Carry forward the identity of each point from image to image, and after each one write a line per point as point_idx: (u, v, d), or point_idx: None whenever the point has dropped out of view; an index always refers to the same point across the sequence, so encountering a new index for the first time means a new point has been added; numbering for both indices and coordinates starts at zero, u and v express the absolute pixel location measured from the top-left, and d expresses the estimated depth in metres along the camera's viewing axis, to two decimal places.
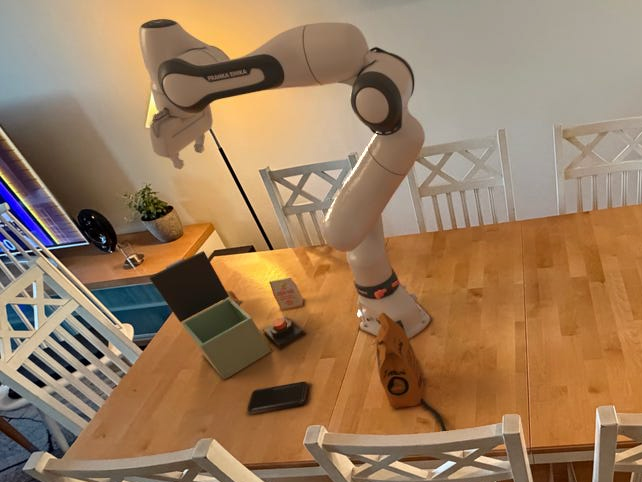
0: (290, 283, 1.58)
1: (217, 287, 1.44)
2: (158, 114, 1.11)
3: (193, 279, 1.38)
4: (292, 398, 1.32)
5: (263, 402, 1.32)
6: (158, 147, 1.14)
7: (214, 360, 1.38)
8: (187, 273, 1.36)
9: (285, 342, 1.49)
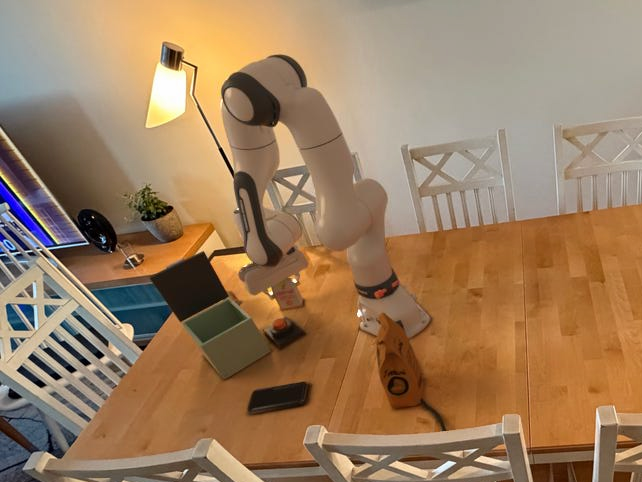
0: (290, 283, 1.58)
1: (217, 287, 1.44)
2: (244, 267, 1.48)
3: (193, 279, 1.38)
4: (292, 398, 1.32)
5: (263, 402, 1.32)
6: (246, 288, 1.52)
7: (214, 360, 1.38)
8: (187, 273, 1.36)
9: (285, 342, 1.49)
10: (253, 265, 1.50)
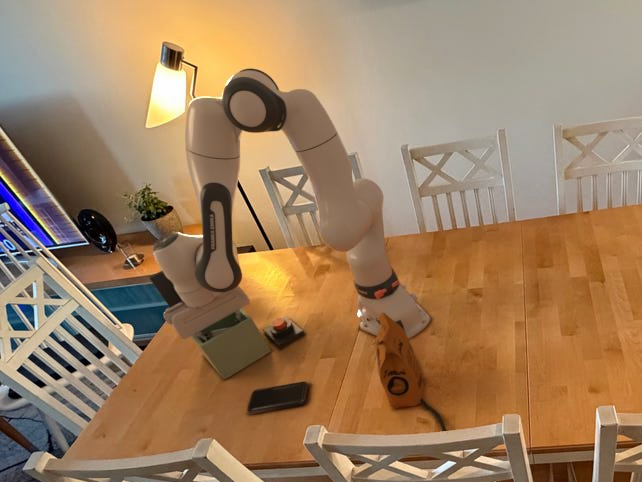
0: None
1: None
2: (170, 308, 1.29)
3: None
4: (292, 398, 1.32)
5: (263, 402, 1.32)
6: None
7: (214, 360, 1.38)
8: None
9: (285, 342, 1.49)
10: (181, 305, 1.31)
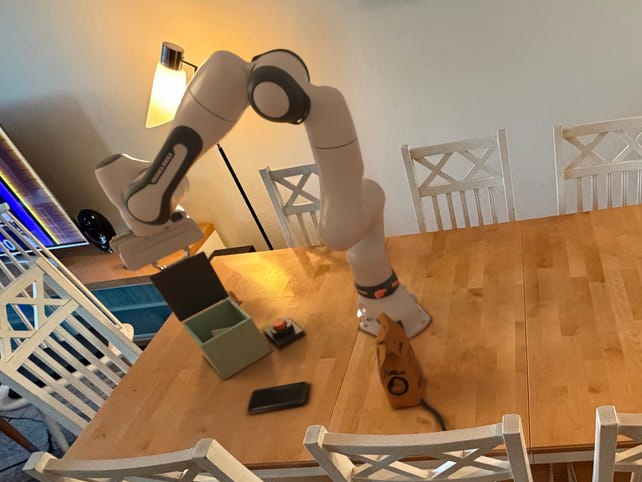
0: None
1: (217, 287, 1.44)
2: (117, 236, 1.24)
3: (193, 279, 1.38)
4: (292, 398, 1.32)
5: (263, 402, 1.32)
6: (124, 262, 1.27)
7: (214, 360, 1.38)
8: (187, 273, 1.36)
9: (285, 342, 1.49)
10: (129, 234, 1.25)
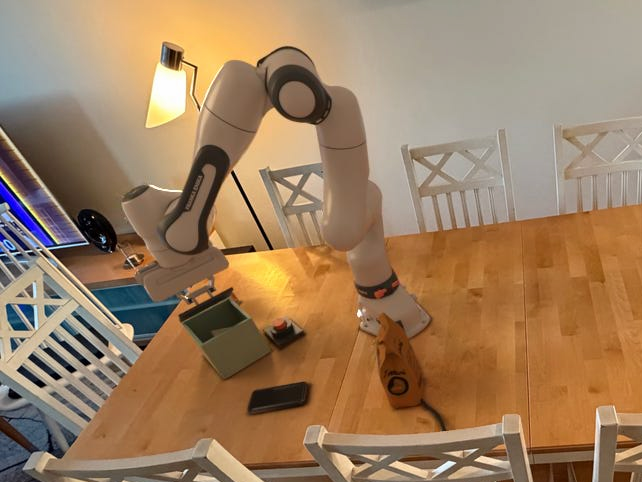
0: None
1: (225, 297, 1.44)
2: (142, 267, 1.20)
3: (212, 303, 1.37)
4: (292, 398, 1.32)
5: (263, 402, 1.32)
6: (148, 293, 1.24)
7: (214, 360, 1.38)
8: (210, 303, 1.35)
9: (285, 342, 1.49)
10: (154, 265, 1.22)
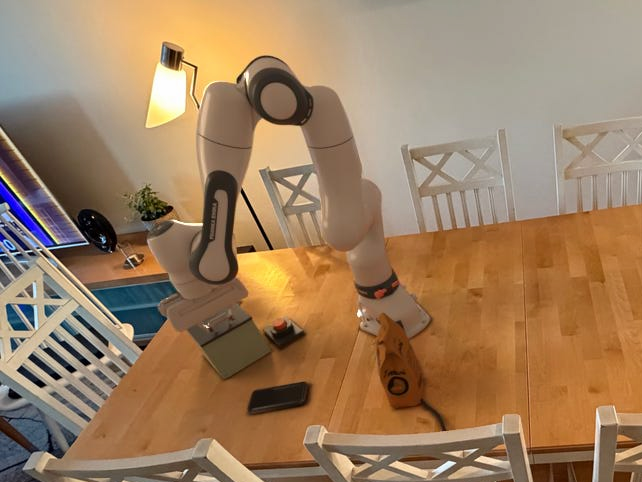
0: None
1: None
2: (165, 299, 1.24)
3: None
4: (292, 398, 1.32)
5: (263, 402, 1.32)
6: (171, 324, 1.27)
7: (214, 360, 1.38)
8: None
9: (285, 342, 1.49)
10: (177, 297, 1.25)
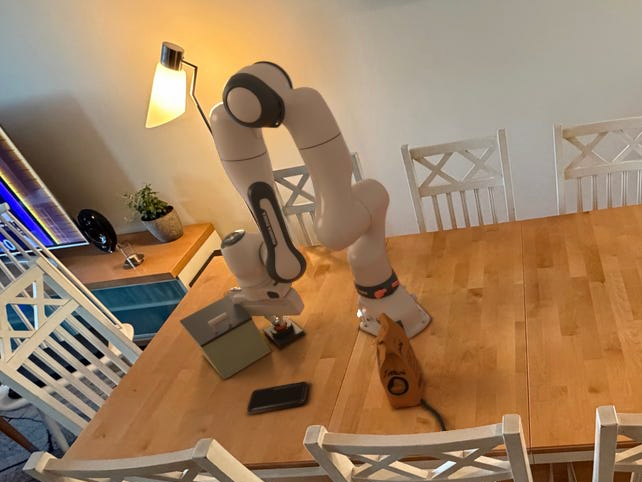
0: None
1: None
2: (234, 288, 1.42)
3: None
4: (292, 398, 1.32)
5: (263, 402, 1.32)
6: None
7: (214, 360, 1.38)
8: None
9: (285, 342, 1.49)
10: None
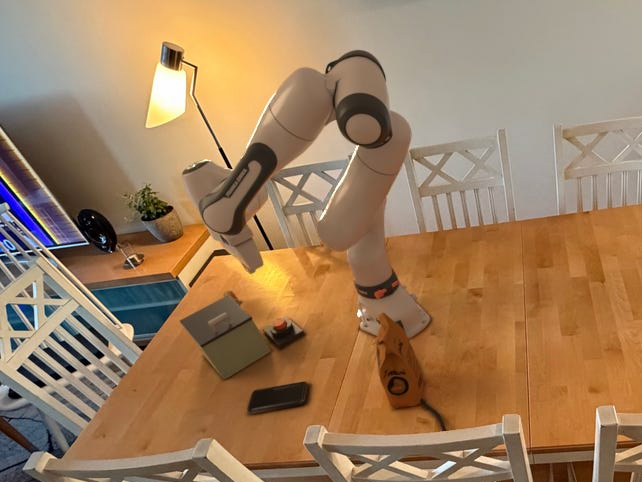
0: None
1: None
2: None
3: None
4: (292, 398, 1.32)
5: (263, 402, 1.32)
6: None
7: (214, 360, 1.38)
8: None
9: (285, 342, 1.49)
10: None
